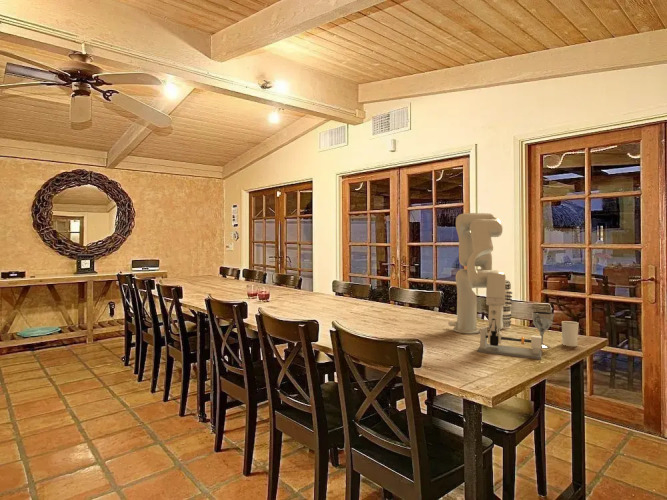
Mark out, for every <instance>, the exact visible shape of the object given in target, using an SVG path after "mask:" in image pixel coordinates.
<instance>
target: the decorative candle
mask: <svg viewBox="0 0 667 500" xmlns="http://www.w3.org/2000/svg"><path fill="white" fill-rule="evenodd" d="M511 287H512V283H511V281H510V280H508V279H506V280H505V306H503V327H502V329H503V330H505V329H507V330H508V329H511V328H512V327H511V326H512V320H511V319H512V317H511V316H512V314H511V313H512V312H511V307H512V302H511V301H513V299H512V298H513V296H512V295H513V292H512V288H511ZM502 329H501V330H502Z"/></svg>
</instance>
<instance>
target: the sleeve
mask: <svg viewBox="0 0 667 500" xmlns="http://www.w3.org/2000/svg"><path fill="white" fill-rule="evenodd" d="M490 334H491V330H490V331H488V332H487V335H488V338H487V344H490ZM501 337H503V332H501V331H499V332H498V345H501V344H502V343H503V340H501Z"/></svg>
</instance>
